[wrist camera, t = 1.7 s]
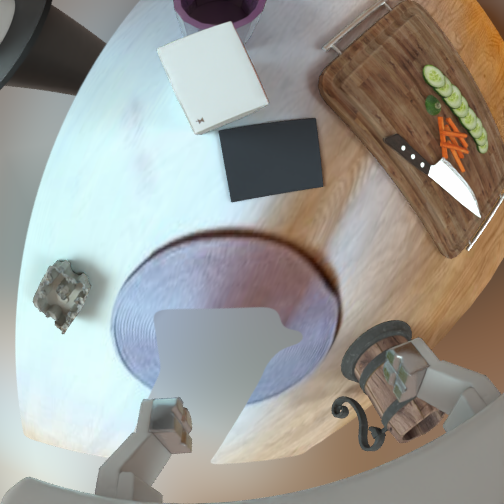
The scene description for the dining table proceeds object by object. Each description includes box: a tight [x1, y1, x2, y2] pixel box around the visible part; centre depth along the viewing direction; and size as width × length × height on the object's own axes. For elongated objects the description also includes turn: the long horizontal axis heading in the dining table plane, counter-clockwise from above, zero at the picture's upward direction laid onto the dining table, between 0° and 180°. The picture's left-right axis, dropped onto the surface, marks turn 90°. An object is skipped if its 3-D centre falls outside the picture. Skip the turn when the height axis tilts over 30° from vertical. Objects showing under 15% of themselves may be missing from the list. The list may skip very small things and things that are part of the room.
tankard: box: [332, 320, 445, 451], centre depth 43 cm, size 24×17×20 cm
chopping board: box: [318, 0, 504, 259], centre depth 33 cm, size 45×27×3 cm, turn 49°
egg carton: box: [33, 260, 91, 334], centre depth 35 cm, size 11×8×4 cm
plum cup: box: [173, 0, 266, 45], centre depth 22 cm, size 9×9×9 cm
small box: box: [157, 21, 269, 135], centre depth 24 cm, size 8×6×13 cm
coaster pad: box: [219, 118, 323, 202], centre depth 34 cm, size 12×9×1 cm
